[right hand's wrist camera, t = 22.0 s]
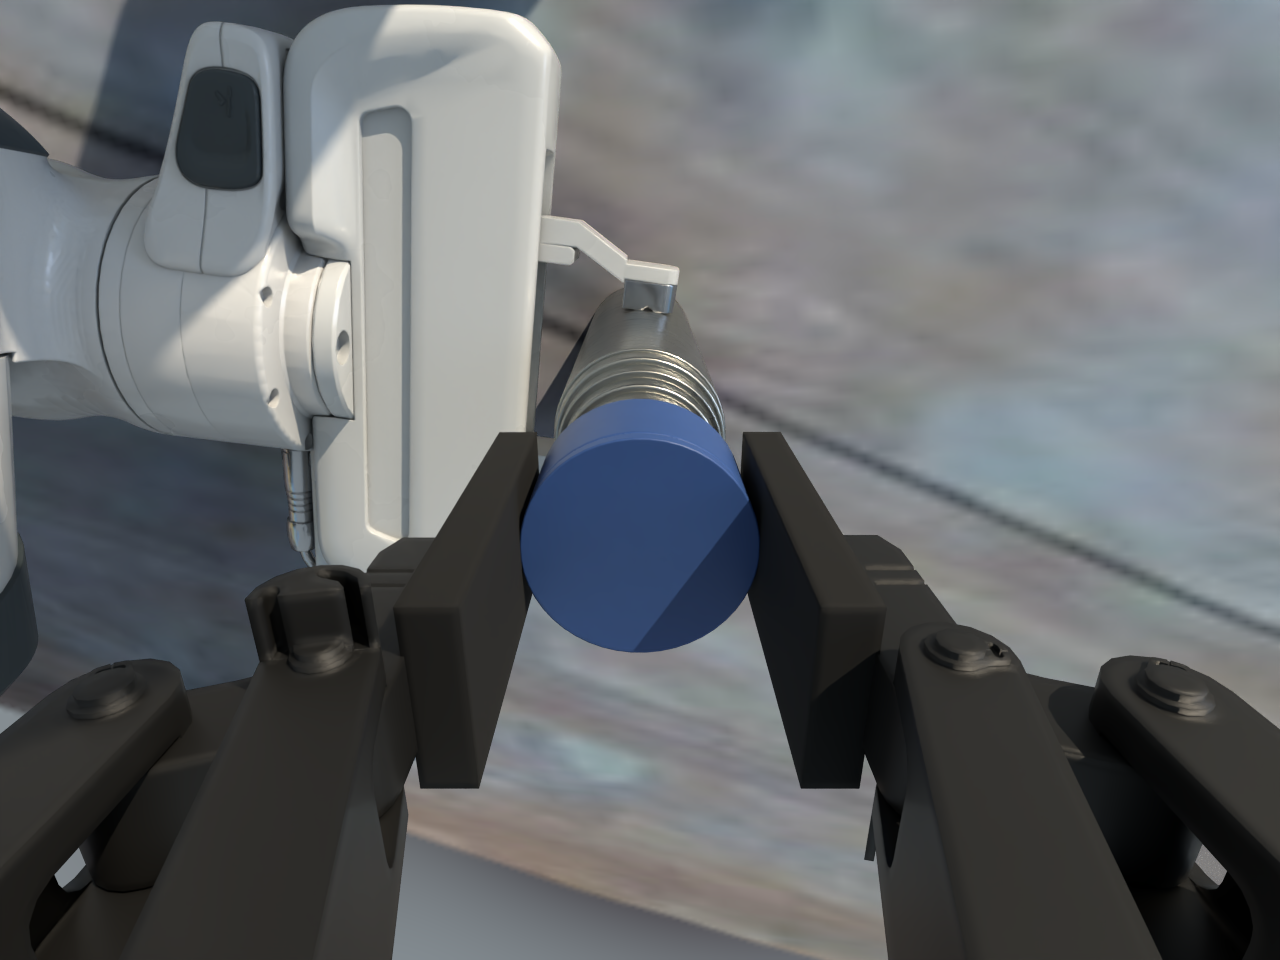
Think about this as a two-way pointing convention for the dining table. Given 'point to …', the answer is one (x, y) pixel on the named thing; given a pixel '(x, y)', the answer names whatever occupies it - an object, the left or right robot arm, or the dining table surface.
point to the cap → (639, 528)
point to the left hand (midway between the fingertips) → (664, 371)
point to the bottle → (639, 365)
